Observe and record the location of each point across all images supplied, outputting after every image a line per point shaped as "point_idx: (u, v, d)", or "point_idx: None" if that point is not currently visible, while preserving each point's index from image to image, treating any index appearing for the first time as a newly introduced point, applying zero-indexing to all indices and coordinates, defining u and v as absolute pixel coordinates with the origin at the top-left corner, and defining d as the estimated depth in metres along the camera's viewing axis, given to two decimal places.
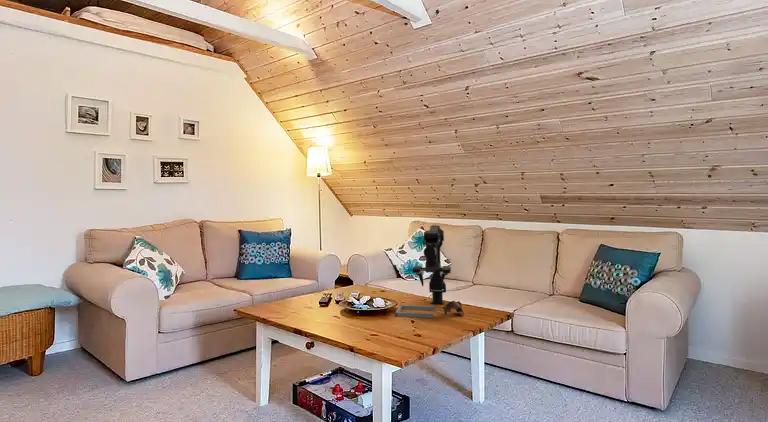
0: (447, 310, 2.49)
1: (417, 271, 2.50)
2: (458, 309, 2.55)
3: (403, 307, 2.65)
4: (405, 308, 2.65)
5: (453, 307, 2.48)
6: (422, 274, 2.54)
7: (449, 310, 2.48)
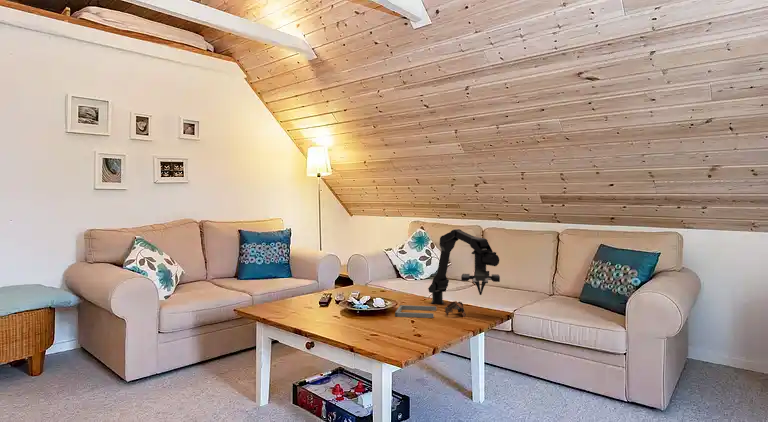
0: (449, 310, 2.48)
1: (466, 279, 2.48)
2: (460, 309, 2.54)
3: (403, 307, 2.65)
4: (405, 308, 2.65)
5: (455, 307, 2.47)
6: None
7: (451, 310, 2.47)
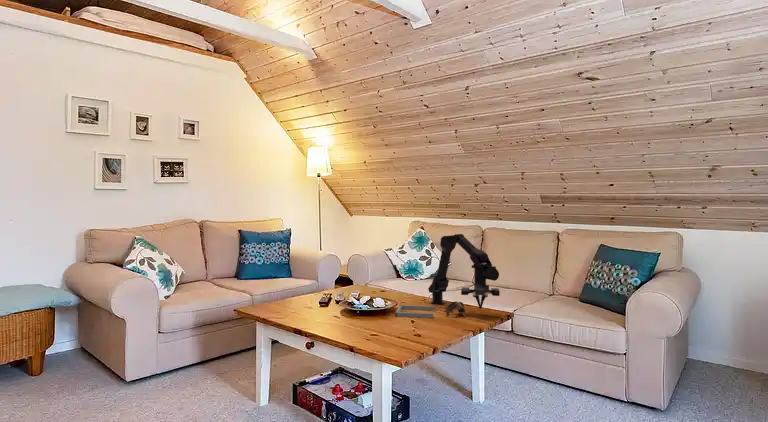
0: (450, 311, 2.48)
1: (466, 293, 2.49)
2: (460, 310, 2.54)
3: (403, 307, 2.65)
4: (405, 308, 2.65)
5: (456, 308, 2.47)
6: None
7: (452, 311, 2.47)
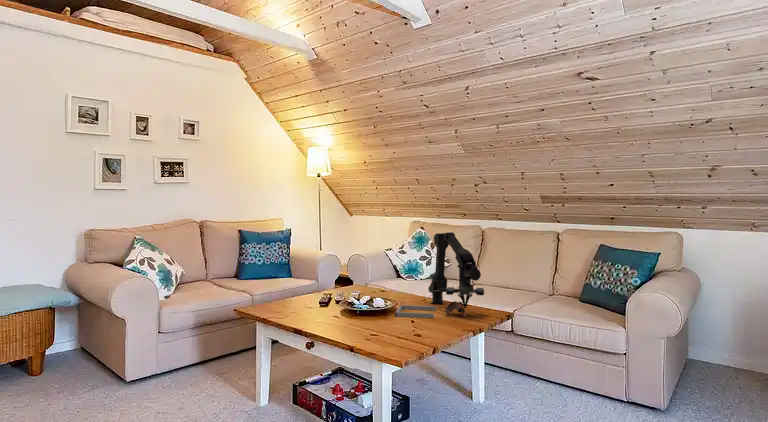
0: (449, 311, 2.47)
1: (451, 293, 2.50)
2: (460, 309, 2.53)
3: (403, 307, 2.65)
4: (405, 308, 2.65)
5: (455, 308, 2.47)
6: None
7: (451, 311, 2.47)
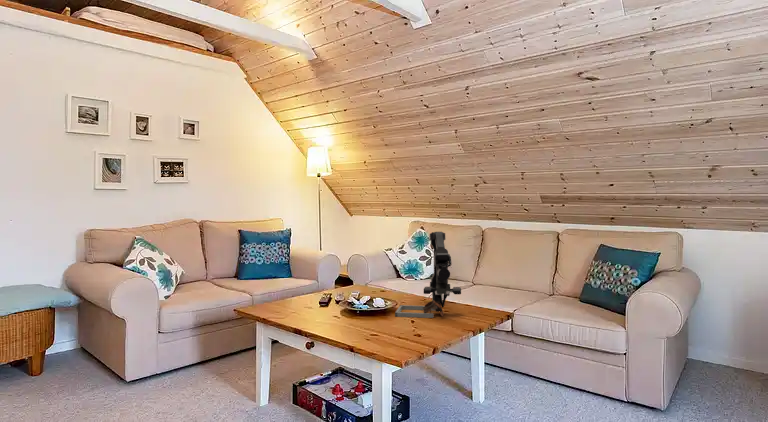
0: (427, 310, 2.49)
1: (428, 292, 2.52)
2: (437, 309, 2.55)
3: (403, 307, 2.65)
4: (405, 308, 2.65)
5: (433, 307, 2.48)
6: (441, 295, 2.56)
7: (429, 310, 2.48)
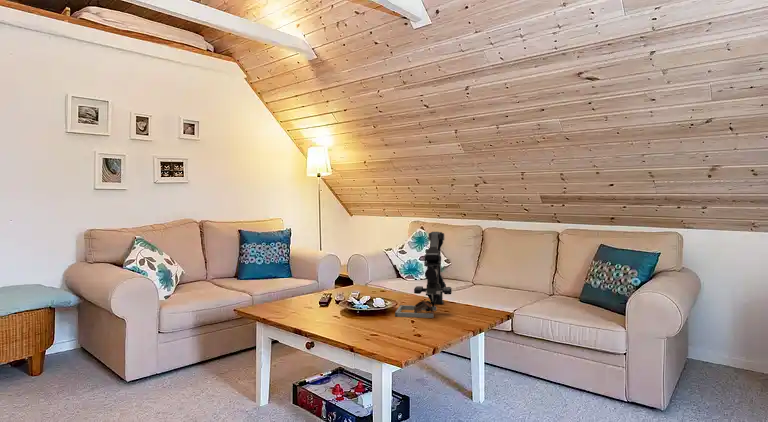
0: (418, 310, 2.49)
1: (418, 292, 2.53)
2: (428, 309, 2.56)
3: (403, 307, 2.65)
4: (405, 308, 2.65)
5: (424, 307, 2.49)
6: (432, 295, 2.57)
7: (420, 310, 2.49)
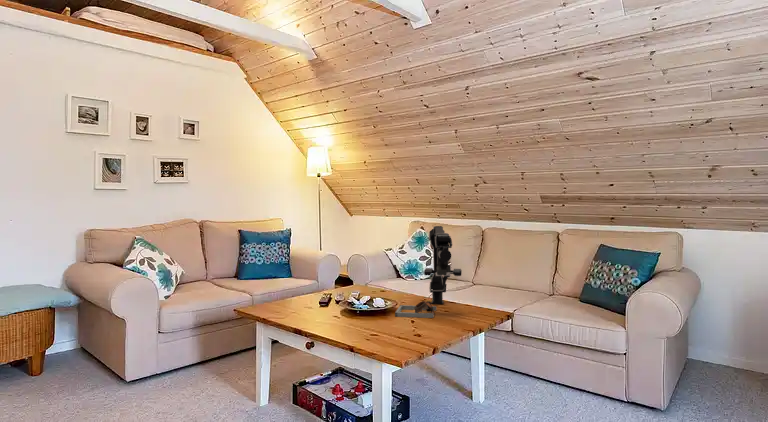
0: (418, 310, 2.49)
1: (428, 273, 2.54)
2: (428, 309, 2.56)
3: (403, 307, 2.65)
4: (405, 308, 2.65)
5: (424, 307, 2.49)
6: None
7: (421, 310, 2.49)
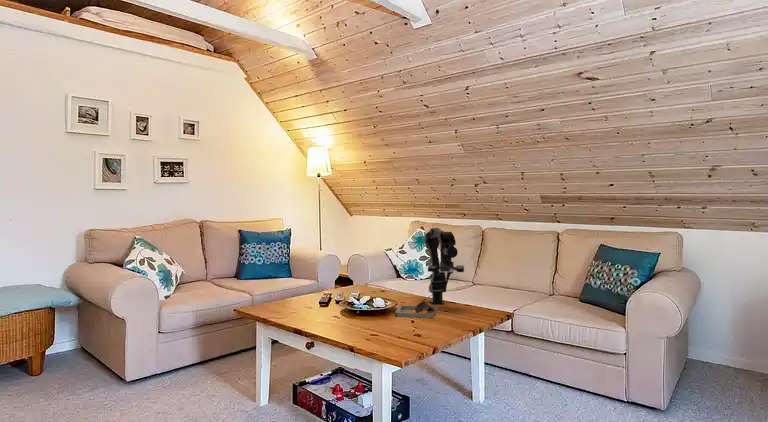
0: (419, 310, 2.49)
1: (432, 270, 2.62)
2: (429, 309, 2.56)
3: (403, 307, 2.65)
4: (405, 308, 2.65)
5: (425, 307, 2.49)
6: None
7: (421, 310, 2.49)
